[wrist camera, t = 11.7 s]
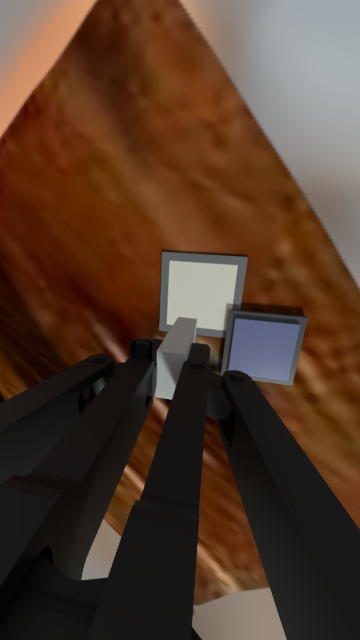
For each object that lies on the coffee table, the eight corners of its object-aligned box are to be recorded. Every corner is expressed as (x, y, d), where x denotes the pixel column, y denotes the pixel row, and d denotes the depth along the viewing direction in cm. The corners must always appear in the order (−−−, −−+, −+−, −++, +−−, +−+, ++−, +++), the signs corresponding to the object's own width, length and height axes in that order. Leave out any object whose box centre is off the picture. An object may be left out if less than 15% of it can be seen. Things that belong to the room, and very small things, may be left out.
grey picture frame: (159, 329, 37) (159, 330, 37) (162, 251, 33) (162, 251, 33) (235, 338, 35) (236, 339, 35) (247, 257, 32) (247, 257, 31)
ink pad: (220, 372, 37) (220, 377, 36) (228, 308, 34) (229, 311, 32) (289, 381, 36) (293, 387, 34) (304, 315, 33) (309, 318, 31)
